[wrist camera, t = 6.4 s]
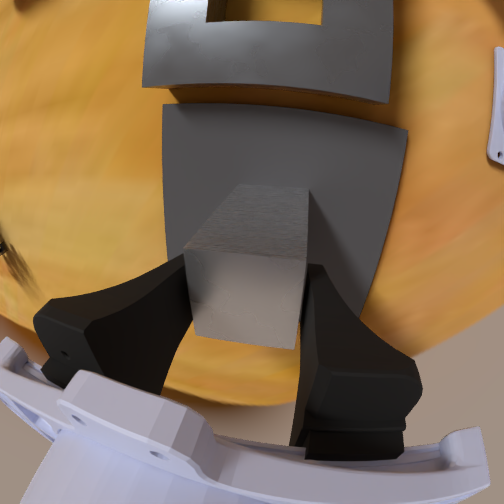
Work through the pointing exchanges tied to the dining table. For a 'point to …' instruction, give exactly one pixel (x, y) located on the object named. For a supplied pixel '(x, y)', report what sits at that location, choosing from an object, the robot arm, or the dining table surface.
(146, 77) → the socket block
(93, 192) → the dining table surface
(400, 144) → the rubber mat
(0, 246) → the valve
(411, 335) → the dining table surface
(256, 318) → the steel peg
